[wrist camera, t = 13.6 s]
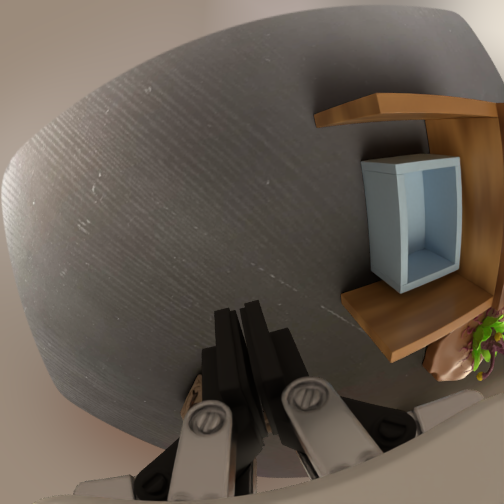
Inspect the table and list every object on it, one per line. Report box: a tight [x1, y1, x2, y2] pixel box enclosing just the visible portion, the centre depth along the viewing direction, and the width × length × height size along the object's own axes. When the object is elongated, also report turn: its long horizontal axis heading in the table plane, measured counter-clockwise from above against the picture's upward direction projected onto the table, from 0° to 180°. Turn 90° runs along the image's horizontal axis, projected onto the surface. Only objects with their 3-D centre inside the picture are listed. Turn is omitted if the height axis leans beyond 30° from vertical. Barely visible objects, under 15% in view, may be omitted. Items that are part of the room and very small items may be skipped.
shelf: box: [314, 93, 504, 363], centre depth 20 cm, size 18×14×11 cm
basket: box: [361, 153, 462, 294], centre depth 23 cm, size 11×8×6 cm
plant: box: [422, 307, 504, 381], centre depth 28 cm, size 20×20×11 cm
